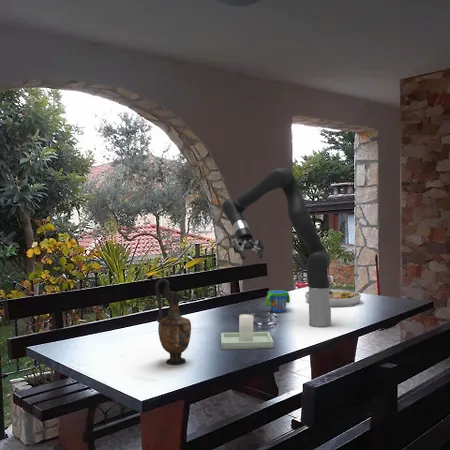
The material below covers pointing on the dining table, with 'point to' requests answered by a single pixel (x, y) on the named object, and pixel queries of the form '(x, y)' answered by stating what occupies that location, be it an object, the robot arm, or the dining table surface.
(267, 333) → the tray
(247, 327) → the white upright cylinder
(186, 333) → the vase
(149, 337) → the dining table surface
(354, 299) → the plate of food
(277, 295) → the snack cup
